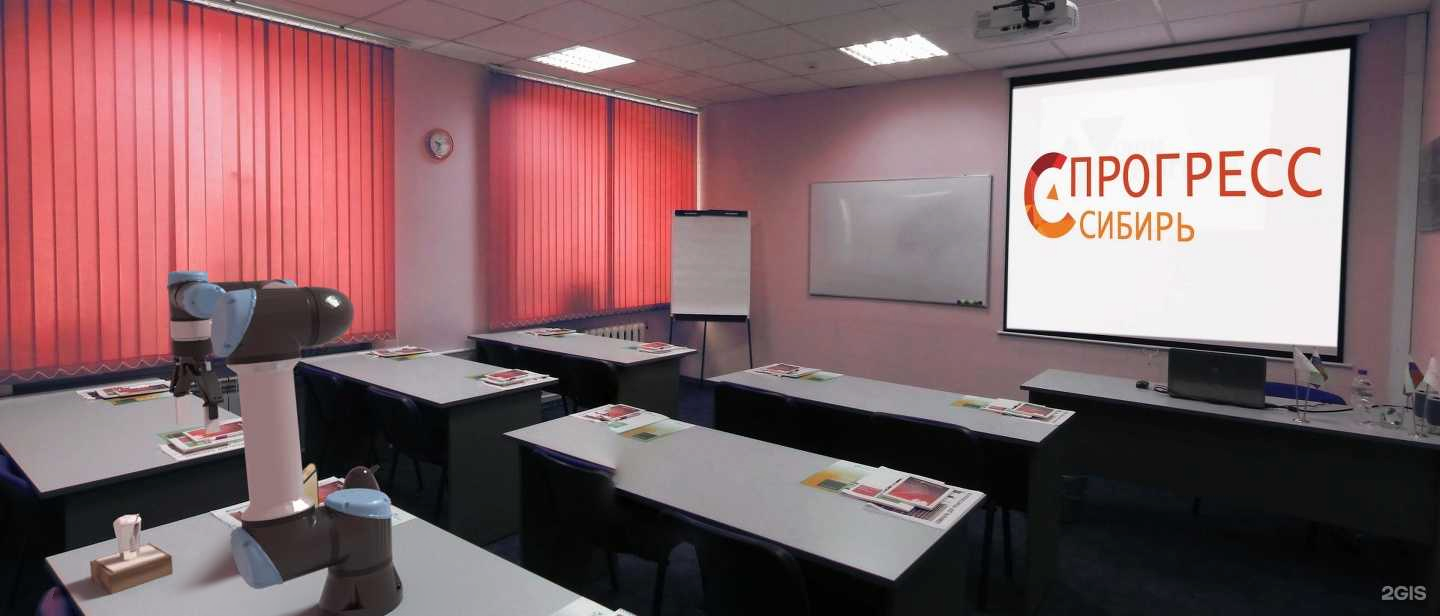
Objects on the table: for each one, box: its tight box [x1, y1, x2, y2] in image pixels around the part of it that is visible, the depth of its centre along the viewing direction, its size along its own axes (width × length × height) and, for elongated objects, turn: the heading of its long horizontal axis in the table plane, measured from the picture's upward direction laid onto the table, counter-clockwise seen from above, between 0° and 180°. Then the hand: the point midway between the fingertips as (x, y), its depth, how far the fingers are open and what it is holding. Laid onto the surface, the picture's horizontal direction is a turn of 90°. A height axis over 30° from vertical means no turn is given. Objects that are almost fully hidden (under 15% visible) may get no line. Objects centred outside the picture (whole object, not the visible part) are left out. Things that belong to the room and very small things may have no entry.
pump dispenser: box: [340, 464, 381, 492], centre depth 179 cm, size 10×10×15 cm
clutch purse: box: [302, 462, 320, 508], centre depth 169 cm, size 30×7×15 cm, turn 14°
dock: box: [89, 542, 174, 595], centre depth 152 cm, size 11×10×4 cm
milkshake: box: [113, 513, 142, 561], centre depth 151 cm, size 4×5×10 cm
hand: (198, 428), depth 164 cm, fingers open, 13 cm apart
